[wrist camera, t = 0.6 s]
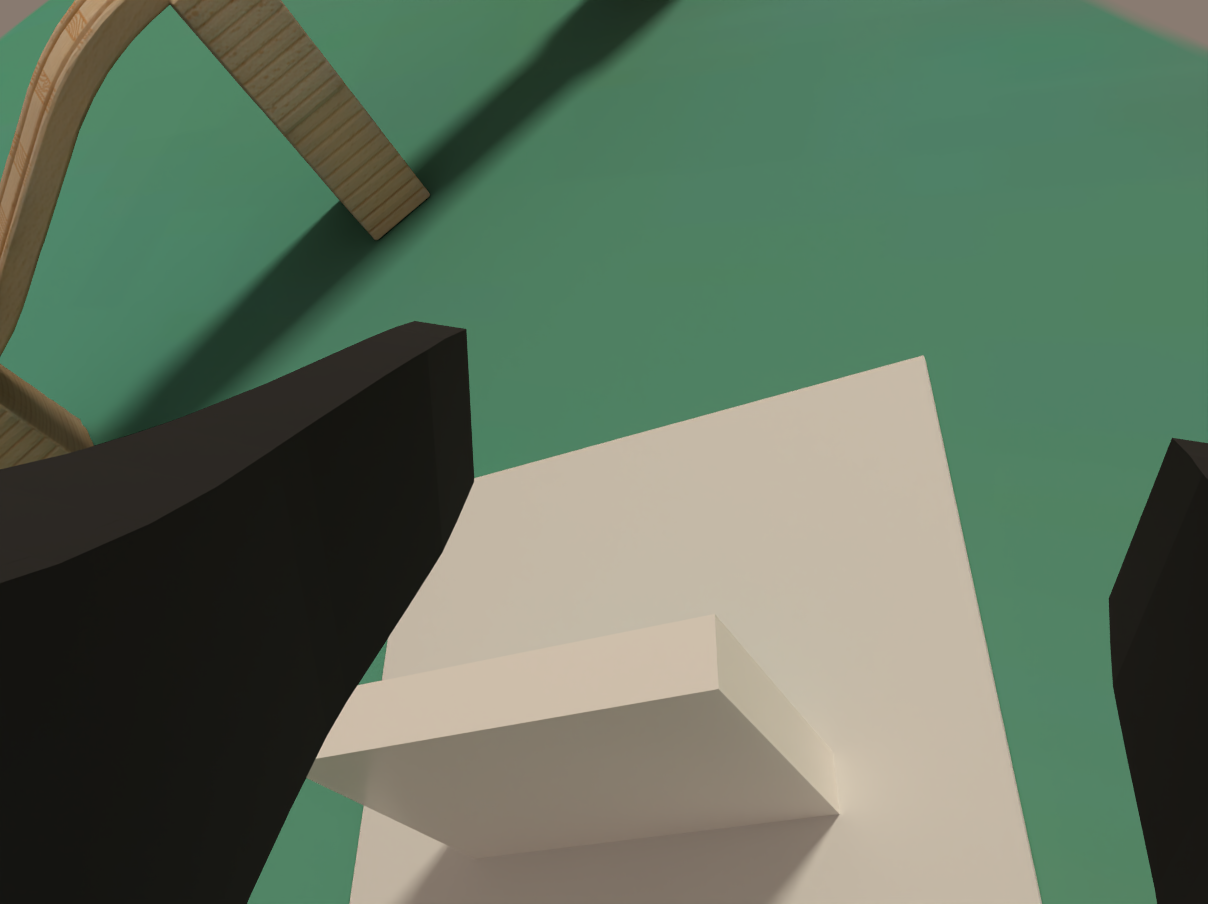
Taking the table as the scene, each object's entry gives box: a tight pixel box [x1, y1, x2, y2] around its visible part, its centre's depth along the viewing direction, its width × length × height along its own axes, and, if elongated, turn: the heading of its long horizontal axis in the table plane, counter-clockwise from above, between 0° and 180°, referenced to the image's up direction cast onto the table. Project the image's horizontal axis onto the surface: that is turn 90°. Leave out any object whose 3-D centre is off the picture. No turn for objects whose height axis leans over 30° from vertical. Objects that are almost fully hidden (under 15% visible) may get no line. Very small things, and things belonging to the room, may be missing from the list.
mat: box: [350, 355, 1042, 904], centre depth 28 cm, size 22×18×1 cm
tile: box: [306, 614, 840, 859], centre depth 24 cm, size 2×10×8 cm, turn 89°
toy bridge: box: [0, 0, 430, 469], centre depth 45 cm, size 42×6×14 cm, turn 124°
